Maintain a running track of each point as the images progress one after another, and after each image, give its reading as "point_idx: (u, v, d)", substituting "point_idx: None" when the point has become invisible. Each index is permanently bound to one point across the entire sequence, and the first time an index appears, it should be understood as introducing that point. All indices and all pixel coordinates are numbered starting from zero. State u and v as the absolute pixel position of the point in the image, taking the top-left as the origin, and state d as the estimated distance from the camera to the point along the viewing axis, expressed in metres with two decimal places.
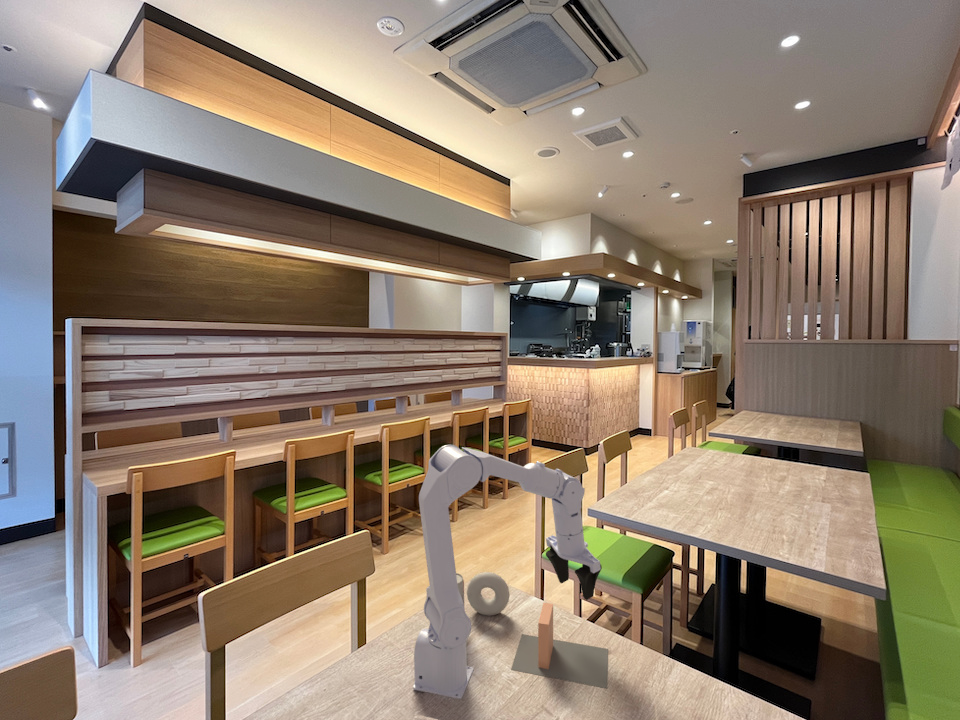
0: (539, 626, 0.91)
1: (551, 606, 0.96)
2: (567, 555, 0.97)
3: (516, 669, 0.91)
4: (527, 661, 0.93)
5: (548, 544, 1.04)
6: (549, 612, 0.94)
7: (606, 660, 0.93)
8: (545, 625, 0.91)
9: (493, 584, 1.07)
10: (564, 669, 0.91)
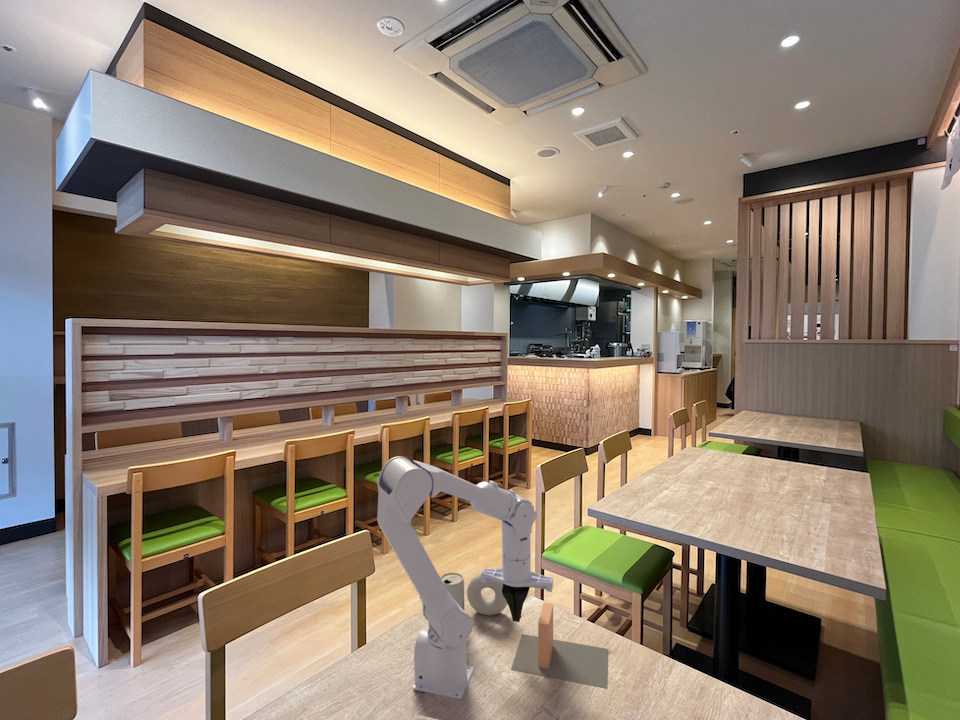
0: (539, 626, 0.91)
1: (551, 606, 0.96)
2: (521, 581, 0.92)
3: (516, 669, 0.91)
4: (527, 661, 0.93)
5: (484, 579, 0.96)
6: (549, 612, 0.94)
7: (606, 660, 0.93)
8: (545, 625, 0.91)
9: (493, 584, 1.07)
10: (564, 669, 0.91)
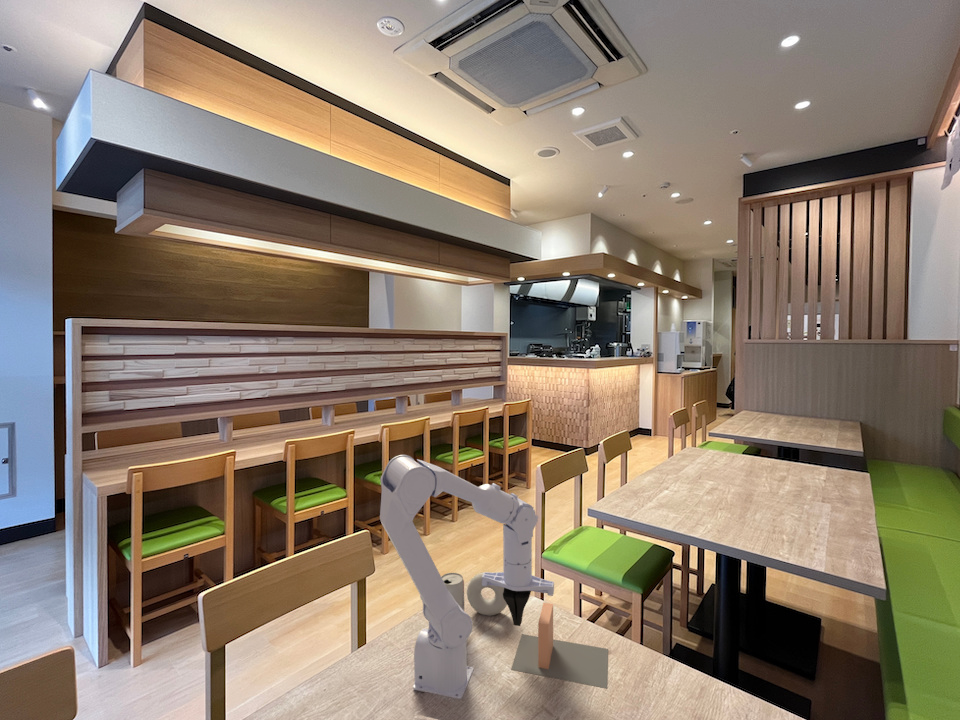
0: (539, 626, 0.91)
1: (551, 606, 0.96)
2: (522, 585, 0.92)
3: (516, 669, 0.91)
4: (527, 661, 0.93)
5: (485, 583, 0.96)
6: (549, 612, 0.94)
7: (606, 660, 0.93)
8: (545, 625, 0.91)
9: None
10: (564, 669, 0.91)
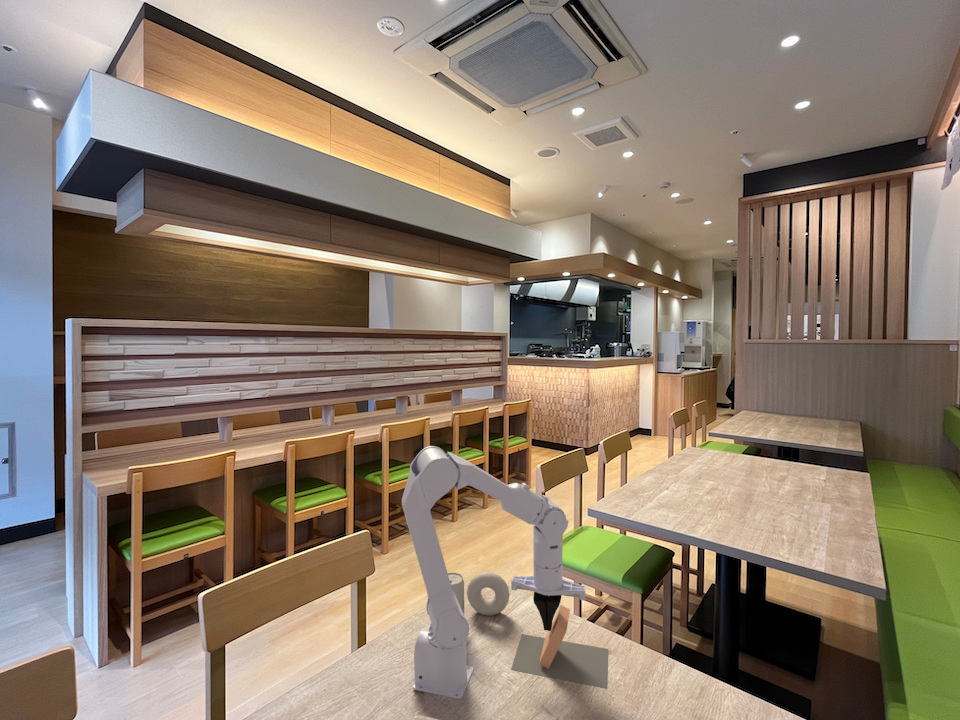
0: (556, 629, 0.90)
1: (568, 611, 0.95)
2: (554, 590, 0.91)
3: (516, 669, 0.91)
4: (527, 661, 0.93)
5: (514, 587, 0.94)
6: (567, 618, 0.93)
7: (606, 660, 0.93)
8: (562, 630, 0.90)
9: (493, 584, 1.07)
10: (564, 669, 0.91)
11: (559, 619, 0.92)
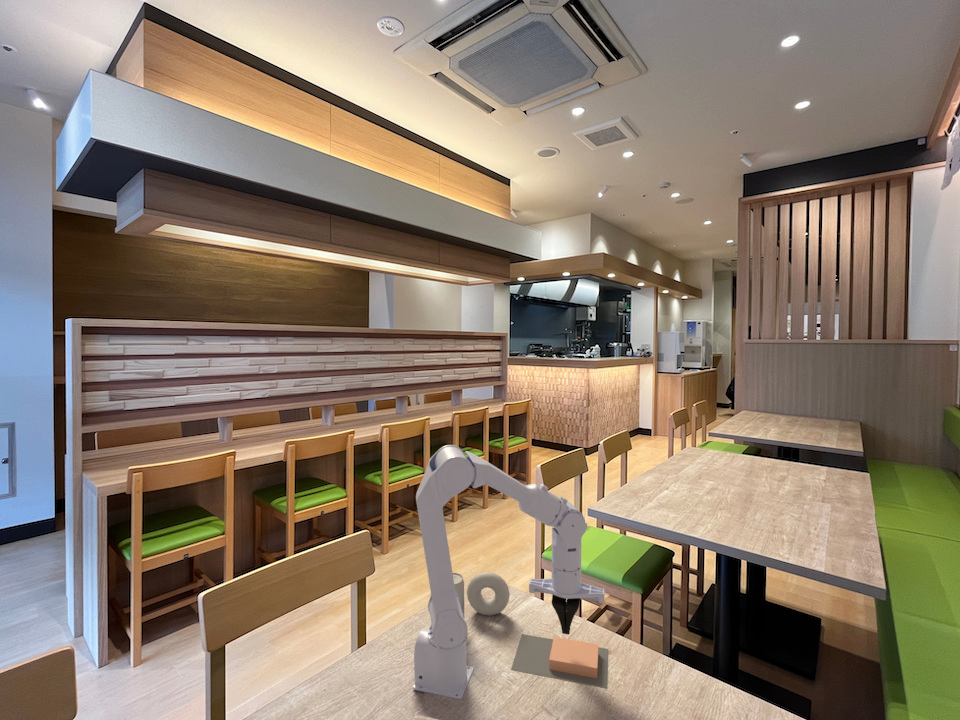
0: (593, 668, 0.89)
1: None
2: (573, 593, 0.90)
3: (516, 669, 0.91)
4: (527, 661, 0.93)
5: (532, 590, 0.93)
6: None
7: (606, 660, 0.93)
8: (595, 674, 0.89)
9: (493, 584, 1.07)
10: None
11: (597, 661, 0.90)
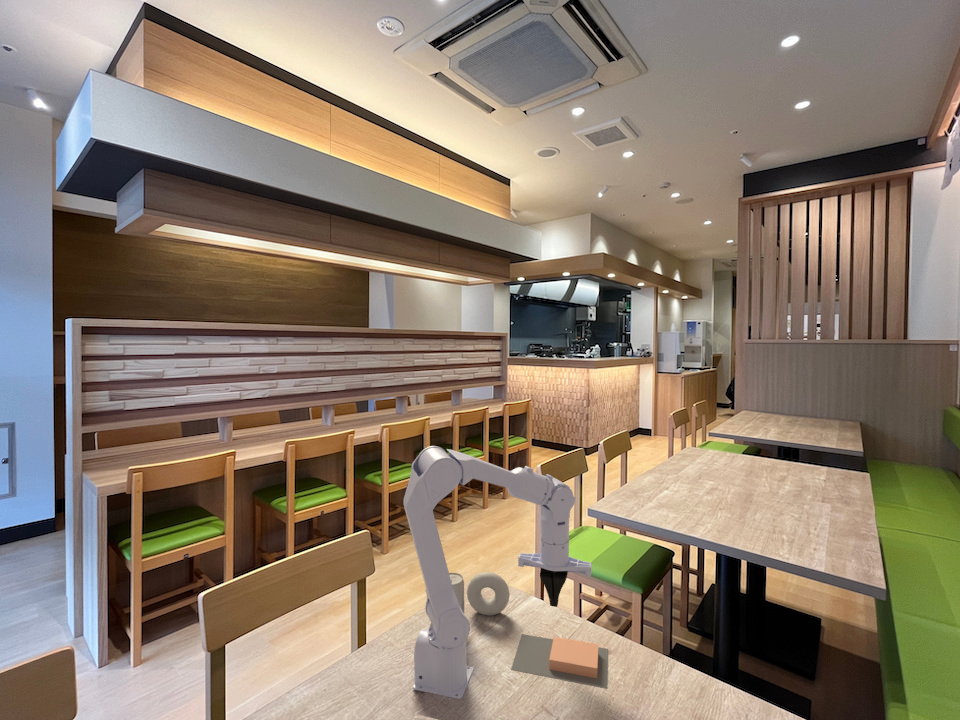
0: (593, 668, 0.89)
1: None
2: (560, 566, 0.92)
3: (516, 669, 0.91)
4: (527, 661, 0.93)
5: (521, 563, 0.96)
6: None
7: (606, 660, 0.93)
8: (595, 674, 0.89)
9: (493, 584, 1.07)
10: None
11: (597, 661, 0.90)
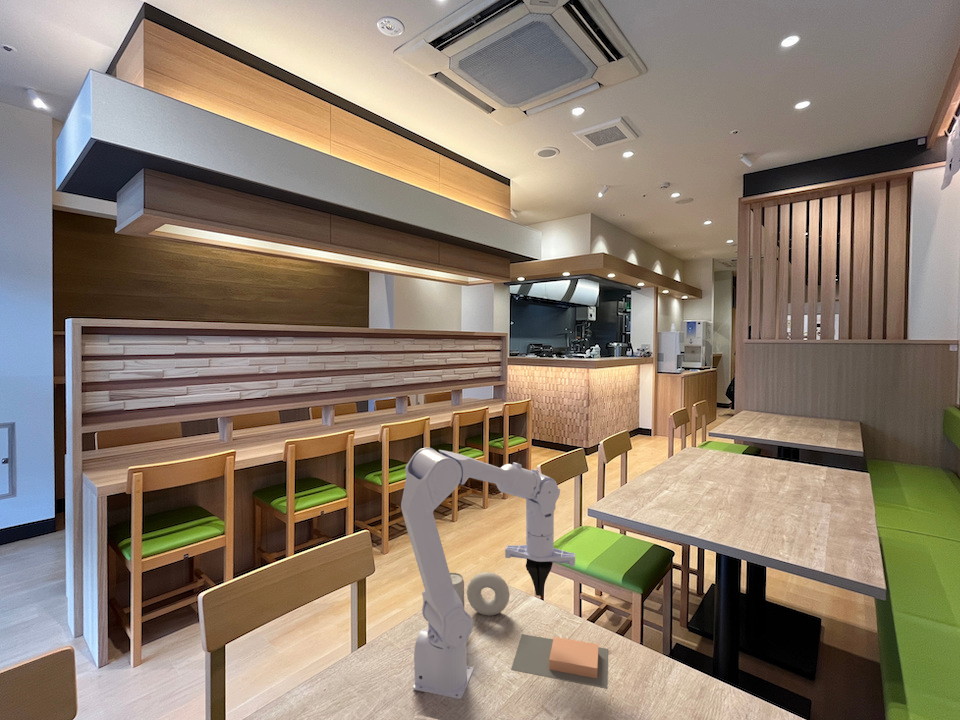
0: (593, 668, 0.89)
1: None
2: (545, 556, 0.96)
3: (516, 669, 0.91)
4: (527, 661, 0.93)
5: (508, 555, 1.00)
6: None
7: (606, 660, 0.93)
8: (595, 674, 0.89)
9: (493, 584, 1.07)
10: None
11: (597, 661, 0.90)
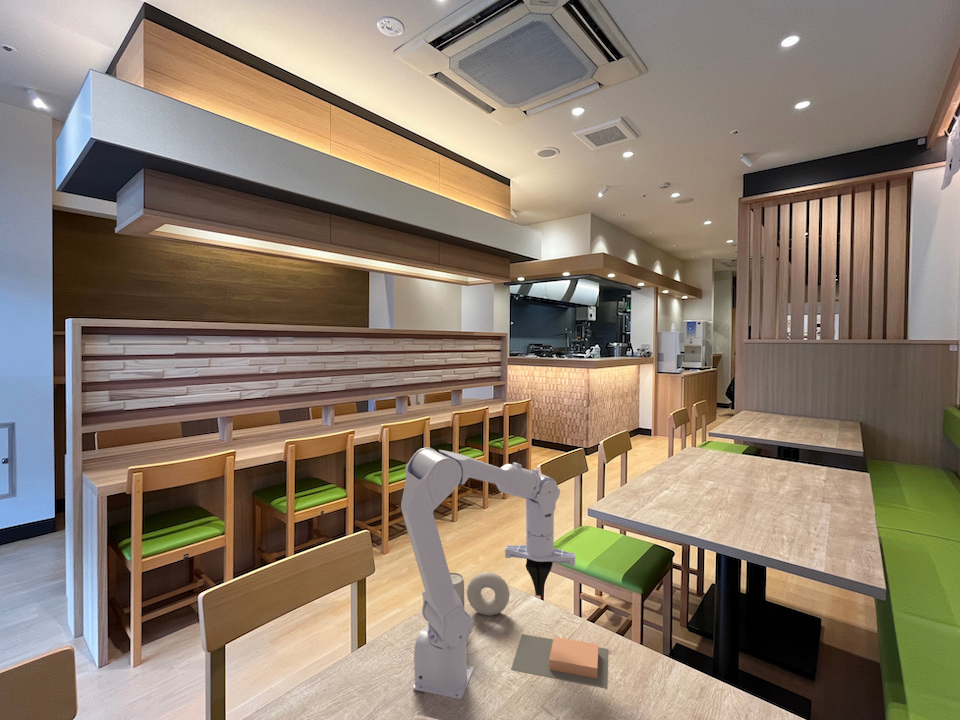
0: (593, 668, 0.89)
1: None
2: (545, 556, 0.96)
3: (516, 669, 0.91)
4: (527, 661, 0.93)
5: (508, 555, 1.00)
6: None
7: (606, 660, 0.93)
8: (595, 674, 0.89)
9: (493, 584, 1.07)
10: None
11: (597, 661, 0.90)
